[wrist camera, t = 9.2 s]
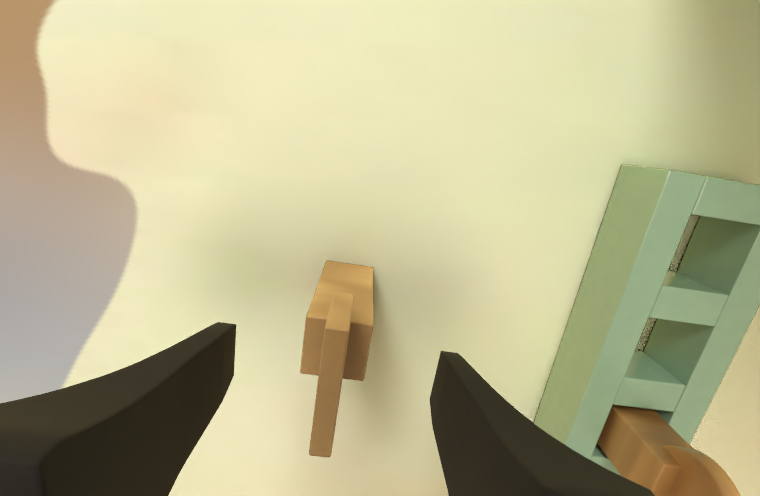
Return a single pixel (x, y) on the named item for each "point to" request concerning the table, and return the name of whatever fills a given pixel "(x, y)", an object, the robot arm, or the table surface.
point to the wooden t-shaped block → (336, 342)
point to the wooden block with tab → (659, 456)
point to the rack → (656, 306)
